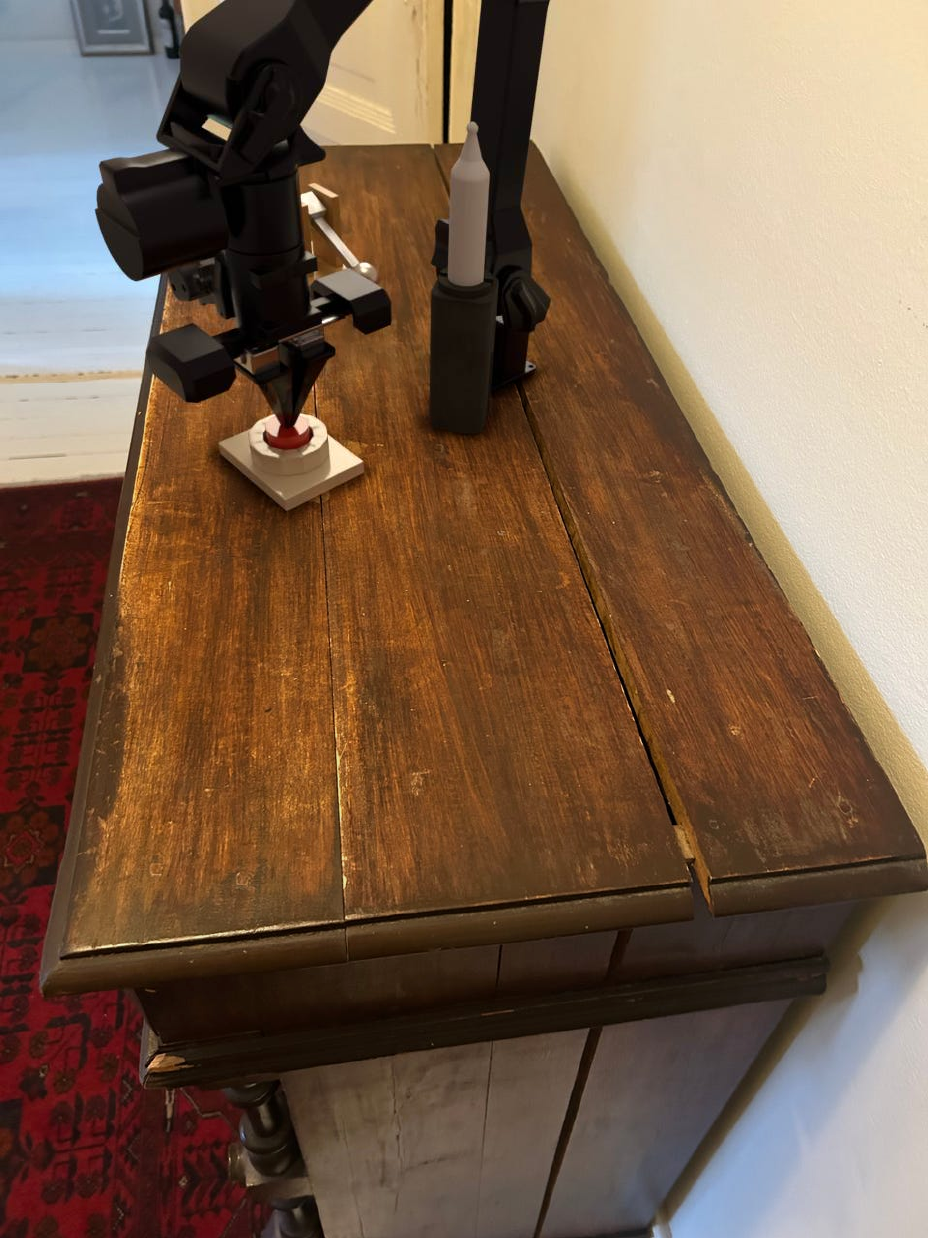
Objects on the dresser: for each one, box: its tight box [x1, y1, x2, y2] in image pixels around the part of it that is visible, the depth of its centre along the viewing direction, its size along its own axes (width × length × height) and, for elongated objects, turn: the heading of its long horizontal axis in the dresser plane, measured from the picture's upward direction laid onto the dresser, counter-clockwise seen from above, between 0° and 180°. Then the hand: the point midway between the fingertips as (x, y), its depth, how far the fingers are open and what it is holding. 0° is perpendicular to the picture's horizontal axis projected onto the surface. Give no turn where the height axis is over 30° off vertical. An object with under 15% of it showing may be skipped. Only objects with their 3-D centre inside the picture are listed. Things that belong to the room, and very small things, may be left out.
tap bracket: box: [301, 182, 347, 301], centre depth 95 cm, size 10×8×9 cm
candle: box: [428, 121, 499, 435], centre depth 72 cm, size 5×5×25 cm
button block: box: [217, 412, 365, 512], centre depth 74 cm, size 10×8×3 cm
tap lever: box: [301, 191, 380, 285], centre depth 93 cm, size 13×3×3 cm, turn 44°
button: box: [265, 415, 310, 450], centre depth 73 cm, size 4×4×2 cm
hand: (287, 424), depth 72 cm, fingers closed, pressing on button
